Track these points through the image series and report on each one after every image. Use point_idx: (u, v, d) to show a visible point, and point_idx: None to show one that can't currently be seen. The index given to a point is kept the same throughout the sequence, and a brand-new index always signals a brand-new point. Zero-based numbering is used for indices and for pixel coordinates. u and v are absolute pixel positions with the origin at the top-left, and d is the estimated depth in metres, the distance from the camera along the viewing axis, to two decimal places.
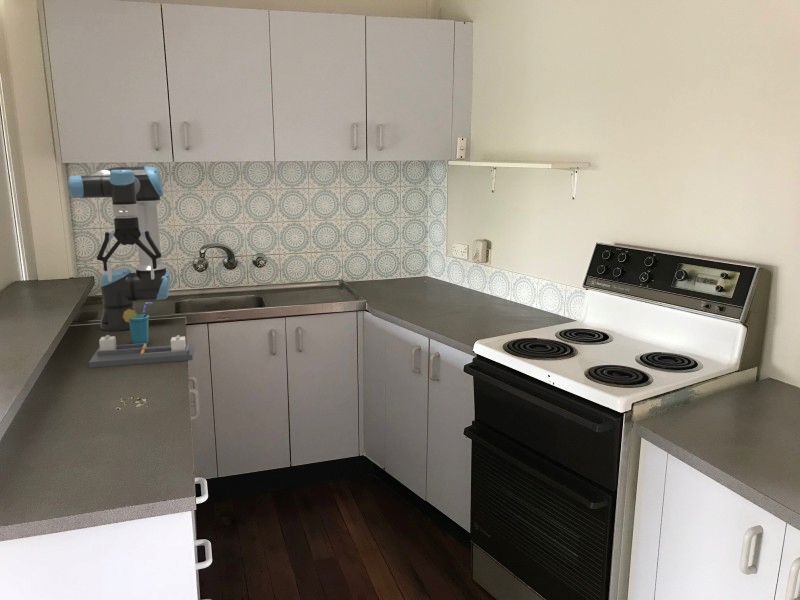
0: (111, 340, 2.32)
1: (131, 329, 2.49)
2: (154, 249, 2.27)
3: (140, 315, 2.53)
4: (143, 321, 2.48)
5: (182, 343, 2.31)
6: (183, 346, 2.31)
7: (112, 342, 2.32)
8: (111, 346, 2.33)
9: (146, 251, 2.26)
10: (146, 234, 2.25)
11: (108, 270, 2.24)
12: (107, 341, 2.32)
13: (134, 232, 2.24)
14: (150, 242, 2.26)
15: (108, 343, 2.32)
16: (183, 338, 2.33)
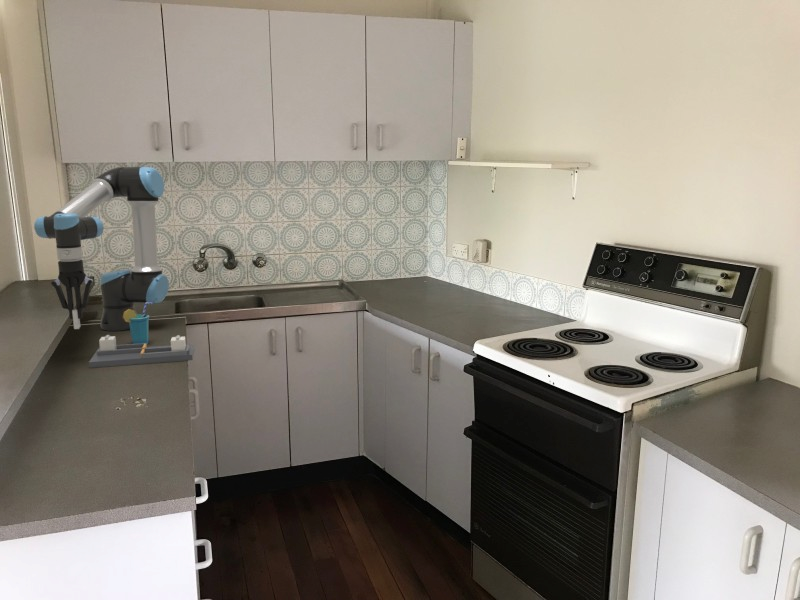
0: (111, 340, 2.32)
1: (131, 329, 2.49)
2: (84, 298, 2.28)
3: (140, 315, 2.53)
4: (143, 321, 2.48)
5: (182, 343, 2.31)
6: (183, 346, 2.31)
7: (112, 342, 2.32)
8: (111, 346, 2.33)
9: (77, 299, 2.27)
10: (88, 282, 2.27)
11: (74, 318, 2.28)
12: (107, 341, 2.32)
13: (80, 274, 2.26)
14: (86, 291, 2.28)
15: (108, 343, 2.32)
16: (183, 338, 2.33)
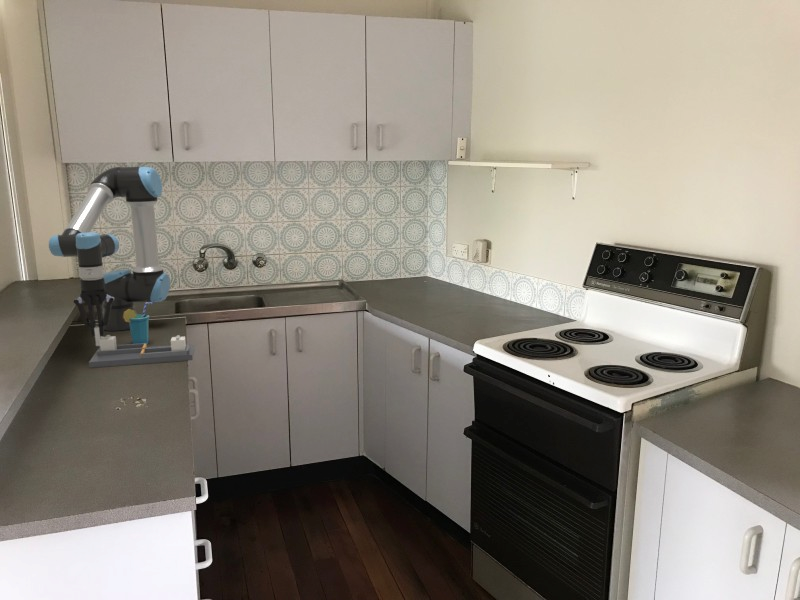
0: (111, 340, 2.32)
1: (131, 329, 2.49)
2: (106, 316, 2.31)
3: (140, 315, 2.53)
4: (143, 321, 2.48)
5: (182, 343, 2.31)
6: (183, 346, 2.31)
7: (112, 342, 2.32)
8: (111, 346, 2.33)
9: (99, 316, 2.30)
10: (110, 300, 2.30)
11: (96, 335, 2.31)
12: (107, 341, 2.32)
13: (102, 292, 2.29)
14: (108, 308, 2.31)
15: (108, 343, 2.32)
16: (183, 338, 2.33)
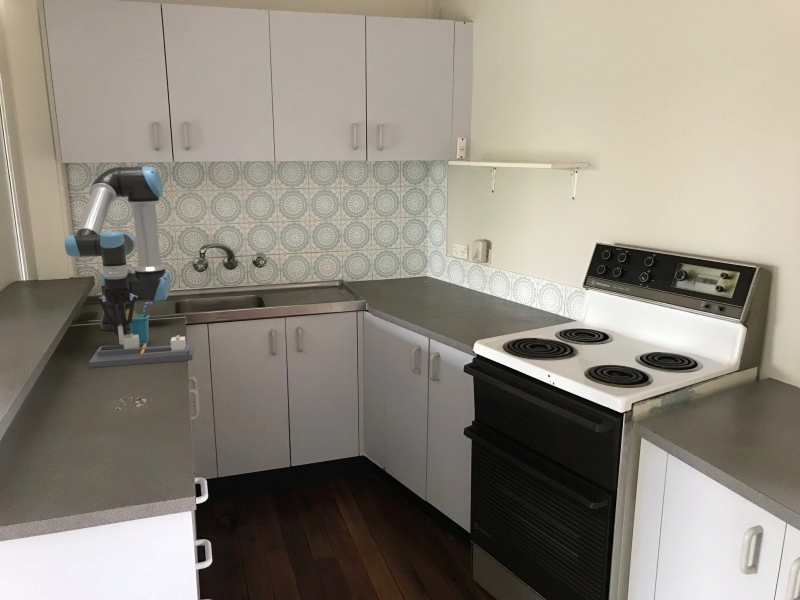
0: (135, 338, 2.34)
1: (131, 329, 2.49)
2: (130, 314, 2.33)
3: (140, 315, 2.53)
4: (143, 321, 2.48)
5: (182, 343, 2.31)
6: (183, 346, 2.31)
7: (135, 340, 2.34)
8: (135, 344, 2.34)
9: (122, 315, 2.32)
10: (133, 299, 2.32)
11: (119, 334, 2.33)
12: (131, 339, 2.34)
13: (125, 291, 2.31)
14: (131, 307, 2.32)
15: (132, 341, 2.34)
16: (183, 338, 2.33)
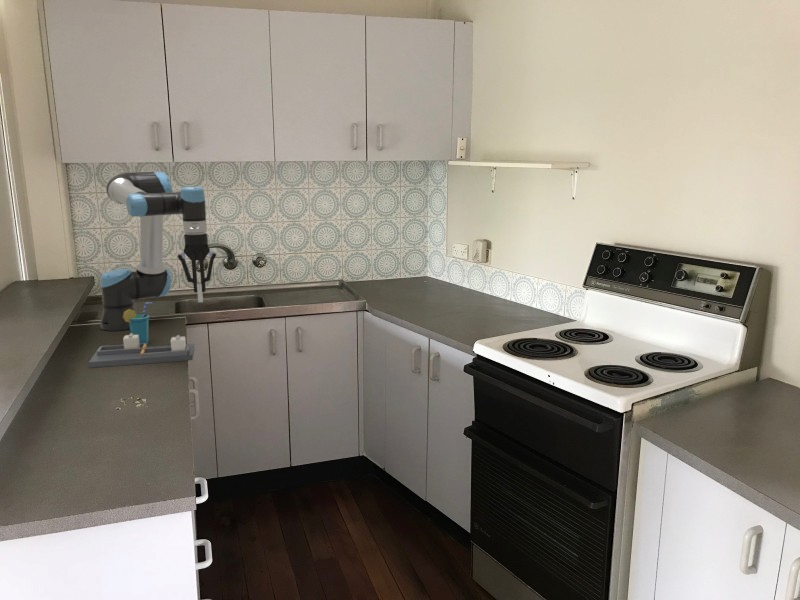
0: (135, 338, 2.34)
1: (131, 329, 2.49)
2: (209, 271, 2.29)
3: (140, 315, 2.53)
4: (143, 321, 2.48)
5: (182, 343, 2.31)
6: (183, 346, 2.31)
7: (135, 340, 2.34)
8: (135, 344, 2.34)
9: (202, 272, 2.29)
10: (213, 256, 2.28)
11: (198, 291, 2.30)
12: (131, 339, 2.34)
13: (205, 247, 2.27)
14: (210, 264, 2.29)
15: (132, 341, 2.34)
16: (183, 338, 2.33)
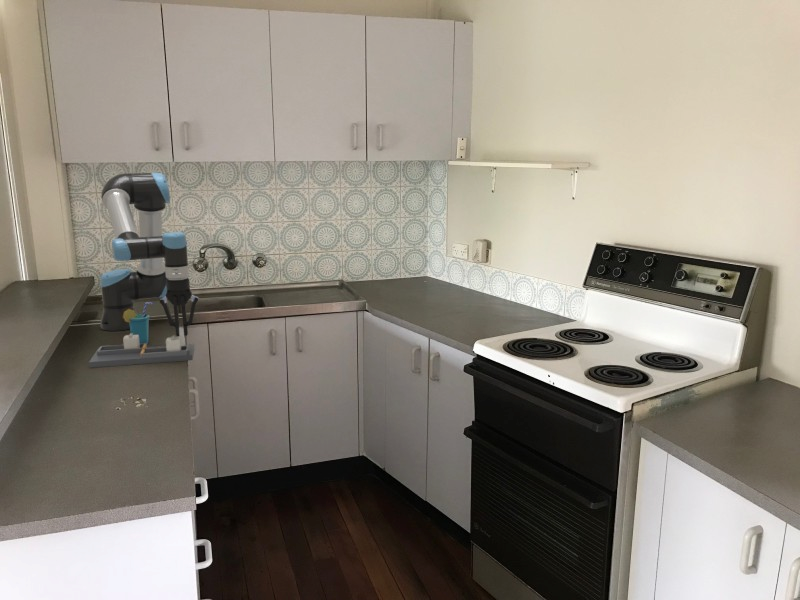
0: (135, 338, 2.34)
1: (131, 329, 2.49)
2: (191, 315, 2.31)
3: (140, 315, 2.53)
4: (143, 321, 2.48)
5: (177, 344, 2.31)
6: (178, 347, 2.31)
7: (135, 340, 2.34)
8: (135, 344, 2.34)
9: (184, 316, 2.31)
10: (195, 300, 2.30)
11: (180, 335, 2.31)
12: (131, 339, 2.34)
13: (187, 292, 2.29)
14: (192, 308, 2.31)
15: (132, 341, 2.34)
16: (178, 338, 2.32)
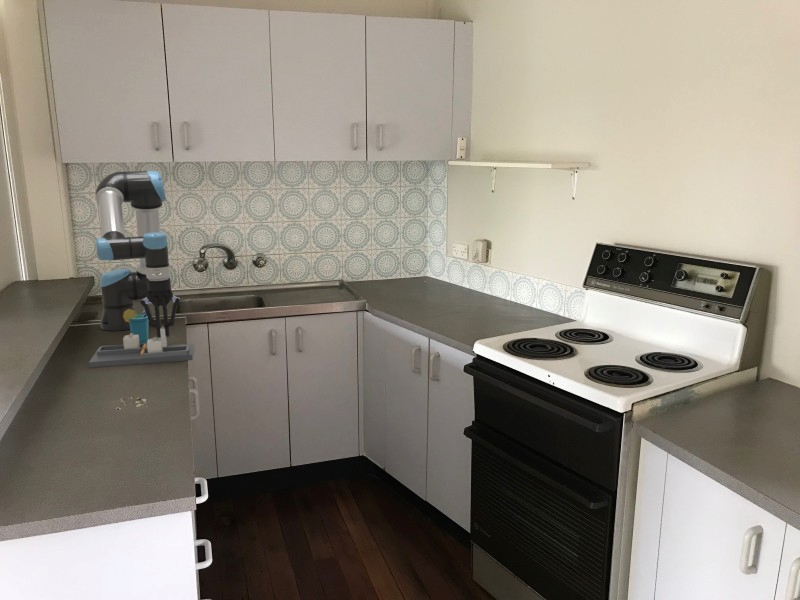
0: (135, 338, 2.34)
1: (131, 329, 2.49)
2: (172, 316, 2.30)
3: (140, 315, 2.53)
4: (143, 321, 2.48)
5: (159, 345, 2.29)
6: (160, 348, 2.30)
7: (135, 340, 2.34)
8: (135, 344, 2.34)
9: (165, 317, 2.29)
10: (176, 301, 2.29)
11: (161, 336, 2.30)
12: (131, 339, 2.34)
13: (168, 293, 2.28)
14: (174, 309, 2.29)
15: (132, 341, 2.34)
16: (160, 340, 2.31)
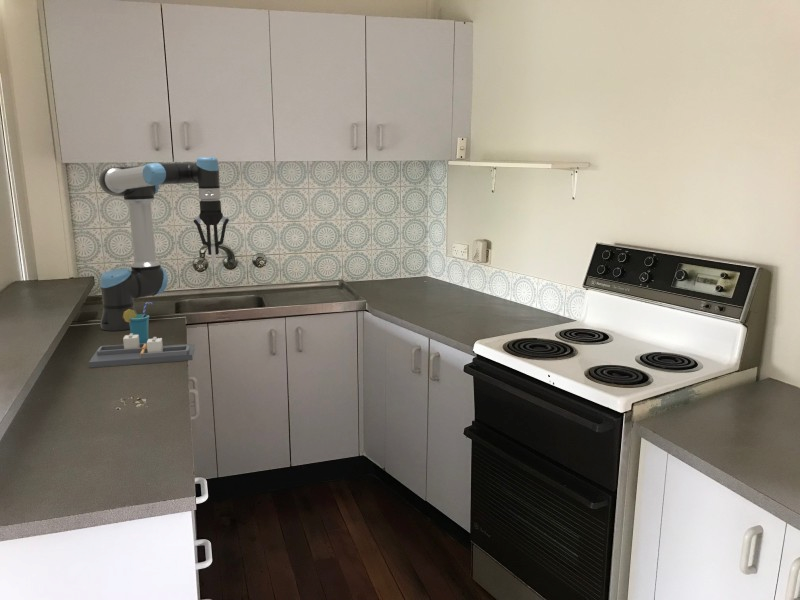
0: (135, 338, 2.34)
1: (131, 329, 2.49)
2: (222, 235, 2.50)
3: (140, 315, 2.53)
4: (143, 321, 2.48)
5: (159, 345, 2.29)
6: (159, 348, 2.30)
7: (135, 340, 2.34)
8: (135, 344, 2.34)
9: (215, 236, 2.49)
10: (226, 221, 2.49)
11: (212, 254, 2.50)
12: (131, 339, 2.34)
13: (219, 213, 2.48)
14: (223, 228, 2.49)
15: (132, 341, 2.34)
16: (160, 340, 2.31)
